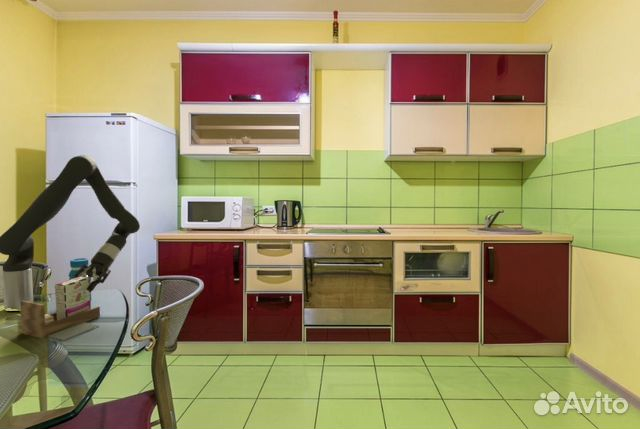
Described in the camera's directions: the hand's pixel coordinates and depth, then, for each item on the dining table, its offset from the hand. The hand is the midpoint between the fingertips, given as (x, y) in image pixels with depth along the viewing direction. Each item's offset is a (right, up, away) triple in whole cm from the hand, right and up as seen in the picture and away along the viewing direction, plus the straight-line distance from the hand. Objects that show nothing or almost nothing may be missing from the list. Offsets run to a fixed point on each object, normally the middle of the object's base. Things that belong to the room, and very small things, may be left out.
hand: (80, 289), depth 138 cm
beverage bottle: (-13, -10, +18) cm, 24 cm away
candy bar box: (-1, -12, -2) cm, 12 cm away
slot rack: (-2, -12, -5) cm, 14 cm away
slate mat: (+6, -13, -12) cm, 18 cm away
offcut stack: (-5, -13, -12) cm, 18 cm away
